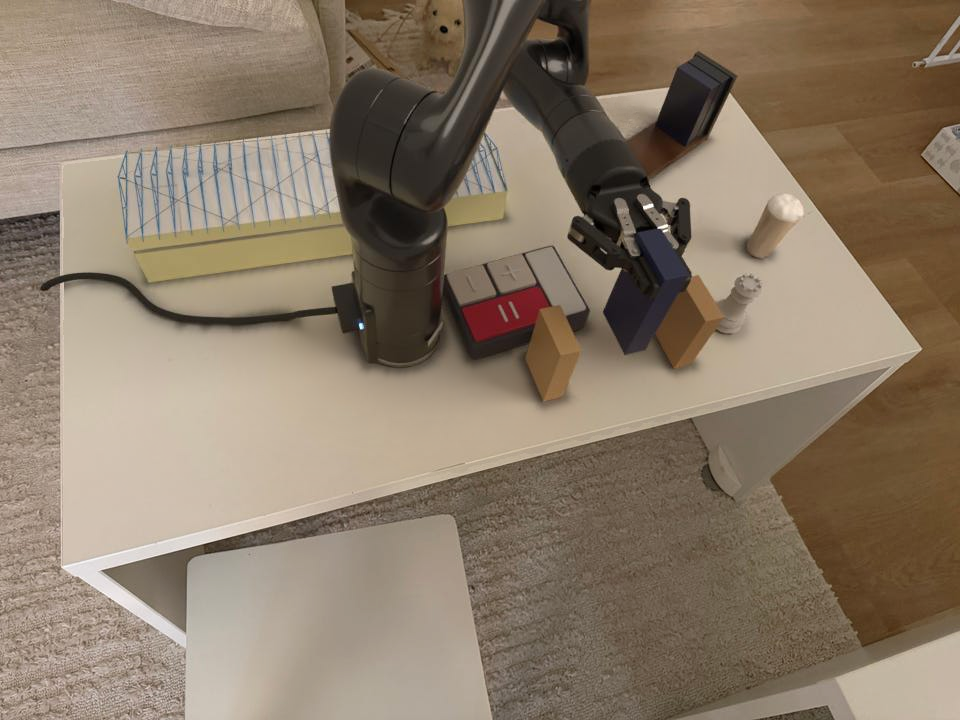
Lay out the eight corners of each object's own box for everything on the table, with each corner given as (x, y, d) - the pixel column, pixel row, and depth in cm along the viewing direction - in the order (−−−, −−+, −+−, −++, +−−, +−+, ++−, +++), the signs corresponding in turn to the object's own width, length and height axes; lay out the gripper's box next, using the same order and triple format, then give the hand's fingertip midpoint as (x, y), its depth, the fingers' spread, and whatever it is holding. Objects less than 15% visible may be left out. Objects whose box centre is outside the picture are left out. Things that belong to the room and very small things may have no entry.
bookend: (633, 191, 95) (658, 127, 86) (597, 164, 98) (617, 98, 88) (707, 139, 103) (737, 75, 93) (672, 115, 105) (698, 50, 96)
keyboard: (148, 286, 79) (116, 225, 70) (146, 196, 86) (117, 131, 77) (509, 235, 88) (520, 176, 80) (480, 158, 96) (487, 97, 87)
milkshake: (765, 271, 89) (802, 219, 81) (734, 246, 91) (768, 193, 83) (784, 256, 91) (823, 204, 83) (754, 232, 93) (789, 178, 85)
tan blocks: (543, 402, 76) (560, 355, 67) (525, 358, 78) (539, 308, 70) (691, 364, 80) (724, 316, 72) (669, 325, 83) (698, 274, 75)
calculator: (440, 271, 79) (554, 239, 83) (440, 292, 83) (549, 261, 86) (473, 344, 74) (592, 308, 78) (471, 363, 78) (586, 328, 81)
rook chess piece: (745, 317, 85) (775, 277, 78) (734, 341, 83) (763, 303, 76) (713, 301, 86) (739, 261, 79) (701, 324, 84) (727, 285, 77)
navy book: (624, 355, 72) (665, 279, 61) (602, 311, 75) (637, 232, 64) (645, 350, 72) (689, 274, 61) (622, 307, 75) (660, 227, 64)
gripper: (544, 146, 66) (614, 279, 58) (666, 128, 70) (749, 251, 61) (531, 201, 72) (593, 327, 64) (644, 182, 76) (717, 300, 68)
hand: (669, 289), depth 63 cm, fingers closed on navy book, 2 cm apart
